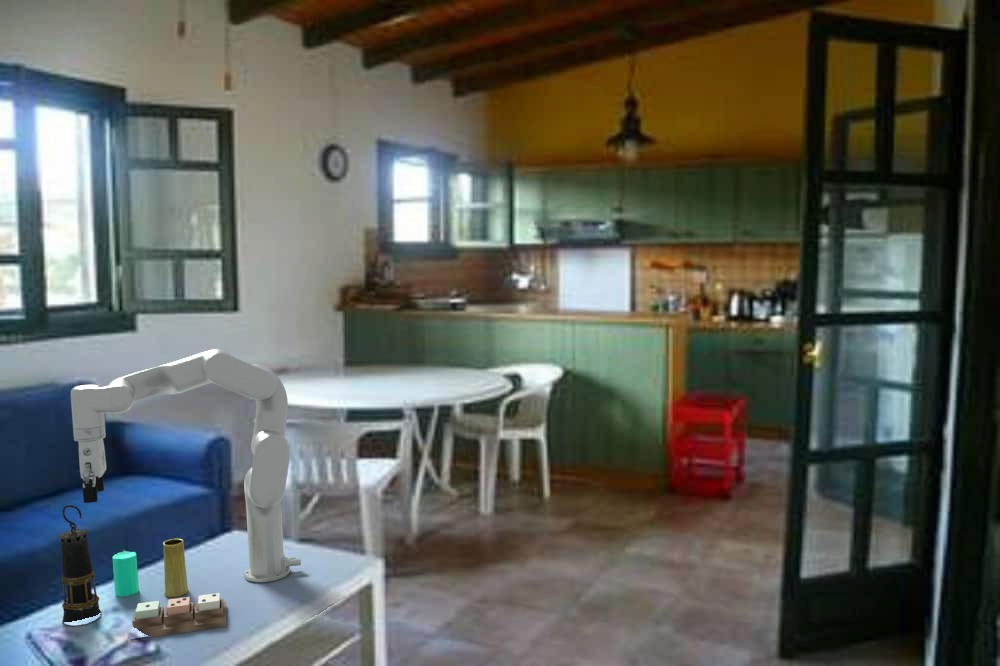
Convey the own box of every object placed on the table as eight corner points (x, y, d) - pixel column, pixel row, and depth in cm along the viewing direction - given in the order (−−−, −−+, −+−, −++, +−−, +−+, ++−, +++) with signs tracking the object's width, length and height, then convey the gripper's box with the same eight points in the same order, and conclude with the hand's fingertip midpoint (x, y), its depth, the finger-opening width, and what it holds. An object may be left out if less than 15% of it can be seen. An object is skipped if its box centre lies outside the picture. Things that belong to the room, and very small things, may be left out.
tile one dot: (159, 609, 221) (159, 599, 221) (158, 618, 216) (157, 608, 216) (138, 612, 220) (137, 602, 219) (136, 621, 215) (135, 610, 215)
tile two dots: (220, 601, 225) (219, 592, 225) (219, 609, 220) (219, 599, 220) (199, 604, 224) (198, 594, 223) (198, 612, 219) (198, 602, 219)
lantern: (83, 608, 230) (74, 496, 226) (110, 613, 227) (101, 500, 223) (54, 623, 222) (44, 507, 218) (81, 628, 218) (71, 511, 215)
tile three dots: (190, 605, 223) (189, 596, 223) (189, 614, 218) (188, 603, 218) (169, 608, 222) (168, 598, 221) (167, 616, 217) (167, 606, 217)
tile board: (226, 606, 229) (225, 593, 229) (225, 626, 218) (224, 612, 217) (135, 619, 223) (134, 605, 223) (129, 639, 212) (128, 626, 211)
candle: (130, 597, 237) (127, 554, 235) (110, 595, 238) (107, 553, 236) (143, 588, 242) (140, 546, 241) (124, 586, 244) (120, 545, 242)
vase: (193, 589, 241) (190, 539, 239) (178, 598, 235) (174, 547, 233) (174, 587, 243) (171, 536, 241) (159, 595, 237) (156, 544, 235)
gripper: (99, 439, 222) (104, 505, 224) (110, 424, 238) (114, 486, 240) (66, 441, 220) (71, 508, 222) (80, 426, 236) (84, 488, 238)
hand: (94, 496), depth 231 cm, fingers open, 9 cm apart
